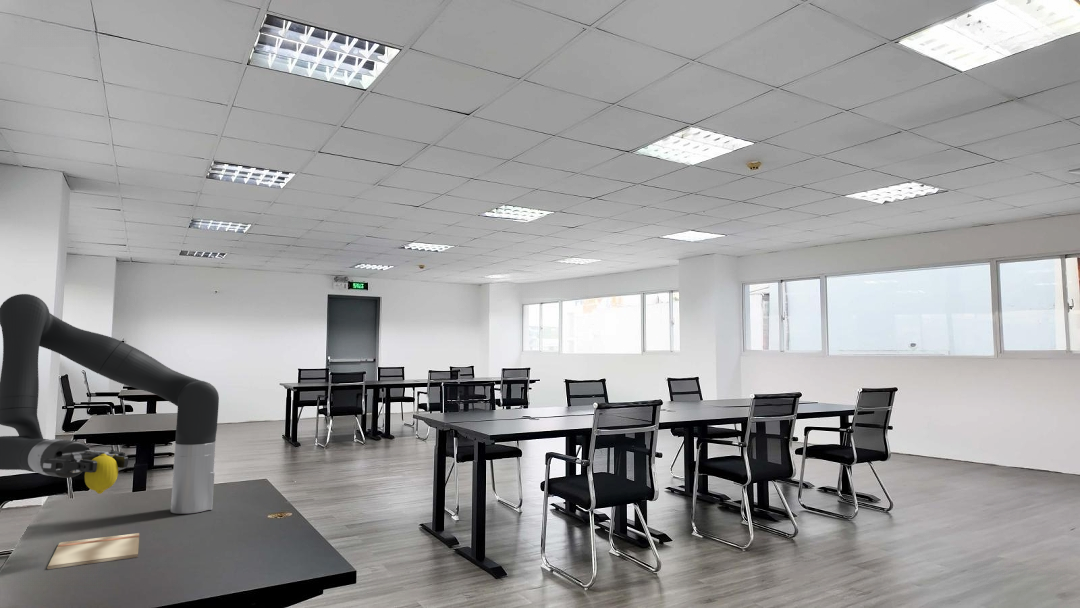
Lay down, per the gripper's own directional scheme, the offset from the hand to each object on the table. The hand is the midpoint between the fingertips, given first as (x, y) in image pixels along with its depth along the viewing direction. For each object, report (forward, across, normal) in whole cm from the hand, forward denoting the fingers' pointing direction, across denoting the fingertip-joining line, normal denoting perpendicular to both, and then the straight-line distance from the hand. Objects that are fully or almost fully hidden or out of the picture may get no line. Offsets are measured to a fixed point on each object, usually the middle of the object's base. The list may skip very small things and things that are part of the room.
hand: (110, 464), depth 122 cm
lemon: (-3, 0, +6) cm, 7 cm away
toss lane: (-4, +1, +18) cm, 18 cm away
